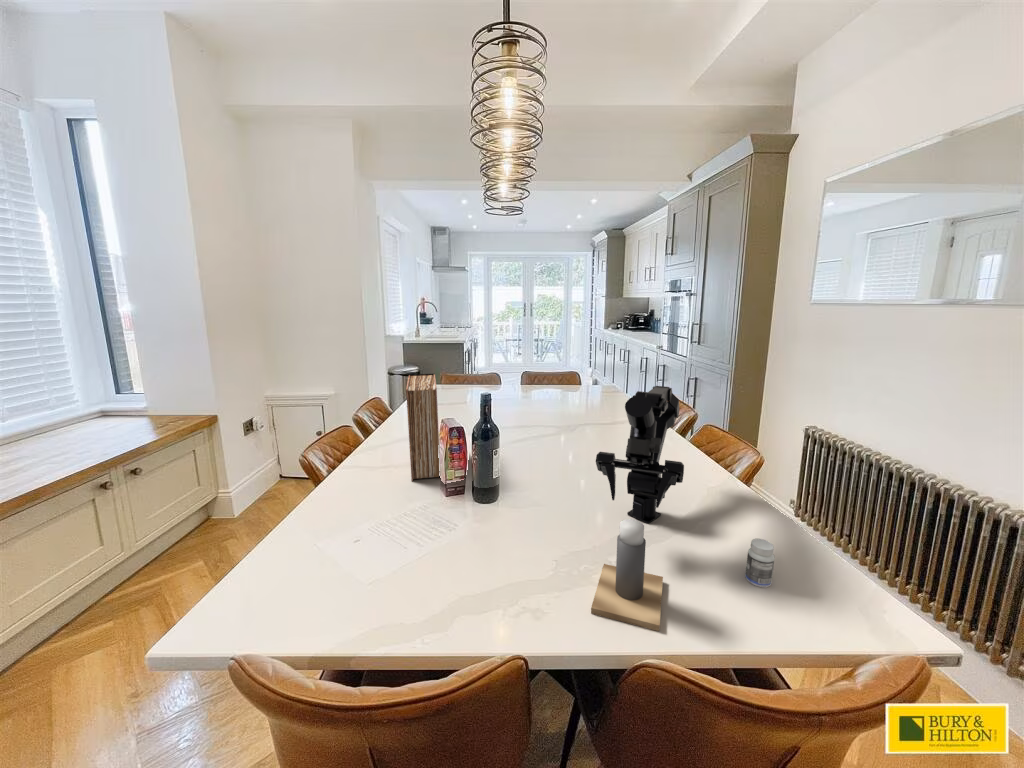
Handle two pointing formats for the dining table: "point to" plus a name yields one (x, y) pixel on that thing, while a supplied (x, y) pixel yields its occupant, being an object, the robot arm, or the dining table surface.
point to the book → (423, 425)
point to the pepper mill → (630, 560)
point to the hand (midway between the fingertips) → (634, 503)
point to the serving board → (625, 610)
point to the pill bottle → (760, 563)
